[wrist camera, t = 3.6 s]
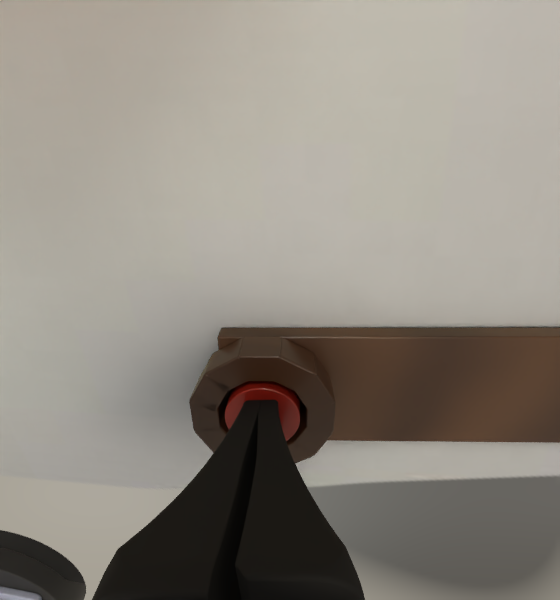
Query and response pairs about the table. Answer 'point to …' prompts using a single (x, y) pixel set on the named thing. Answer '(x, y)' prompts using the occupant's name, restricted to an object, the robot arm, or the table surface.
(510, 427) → the brown board with ring
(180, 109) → the table surface
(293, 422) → the power button
